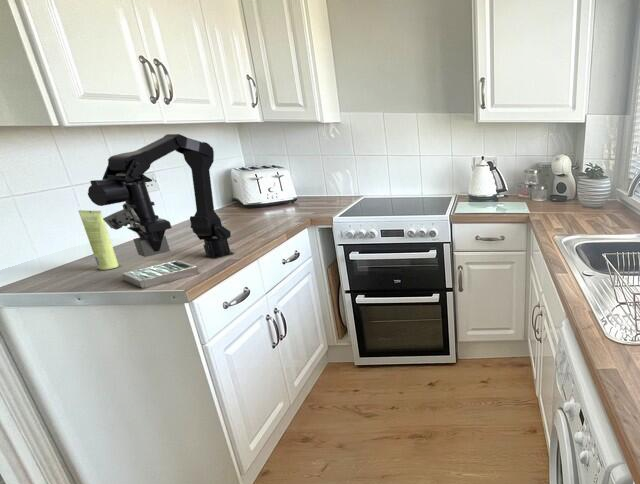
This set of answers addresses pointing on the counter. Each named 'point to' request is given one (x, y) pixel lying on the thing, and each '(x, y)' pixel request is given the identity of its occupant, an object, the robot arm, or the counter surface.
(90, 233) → the tube
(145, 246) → the dark grey block
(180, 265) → the striped rimmed tray
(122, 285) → the counter surface
